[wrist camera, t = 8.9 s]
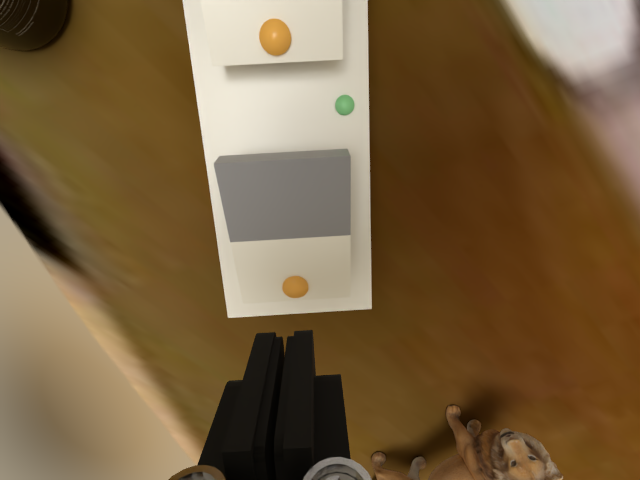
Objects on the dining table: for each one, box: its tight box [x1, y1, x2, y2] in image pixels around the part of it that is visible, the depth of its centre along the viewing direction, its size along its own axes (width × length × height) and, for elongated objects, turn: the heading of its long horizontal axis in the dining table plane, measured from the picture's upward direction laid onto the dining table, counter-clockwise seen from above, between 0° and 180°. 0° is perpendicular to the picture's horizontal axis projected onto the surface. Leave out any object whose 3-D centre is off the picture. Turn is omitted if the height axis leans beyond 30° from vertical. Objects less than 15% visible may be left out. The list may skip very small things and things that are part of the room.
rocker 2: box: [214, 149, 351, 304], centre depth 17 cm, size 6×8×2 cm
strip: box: [183, 0, 372, 318], centre depth 19 cm, size 9×30×6 cm, turn 3°
